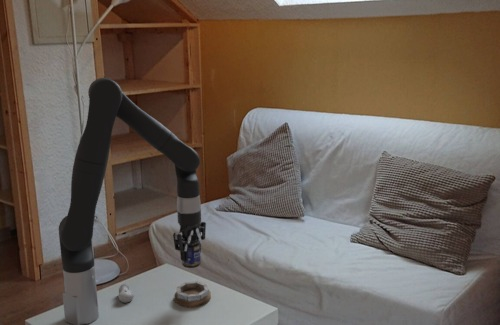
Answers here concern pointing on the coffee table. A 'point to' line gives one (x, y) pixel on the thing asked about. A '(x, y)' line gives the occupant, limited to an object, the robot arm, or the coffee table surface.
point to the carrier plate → (192, 304)
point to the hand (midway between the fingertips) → (191, 257)
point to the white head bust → (125, 294)
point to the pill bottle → (193, 252)
